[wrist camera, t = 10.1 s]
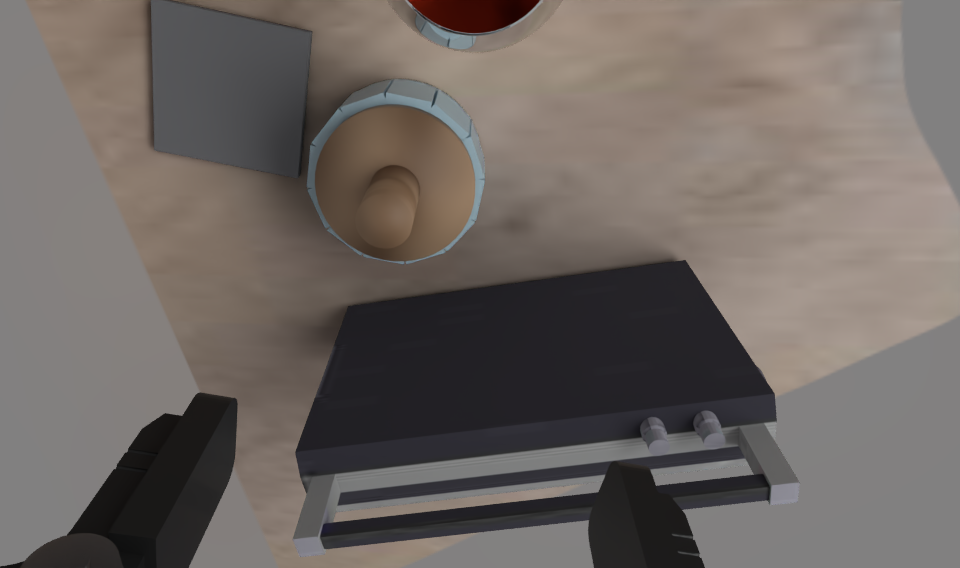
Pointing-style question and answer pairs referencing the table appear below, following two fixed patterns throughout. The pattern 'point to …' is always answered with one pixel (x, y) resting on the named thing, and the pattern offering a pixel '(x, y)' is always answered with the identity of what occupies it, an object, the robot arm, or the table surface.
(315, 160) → the bowl
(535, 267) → the table surface
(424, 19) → the wineglass
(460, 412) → the radio
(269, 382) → the table surface
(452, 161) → the lid
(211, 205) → the table surface
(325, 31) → the table surface
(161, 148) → the mat
